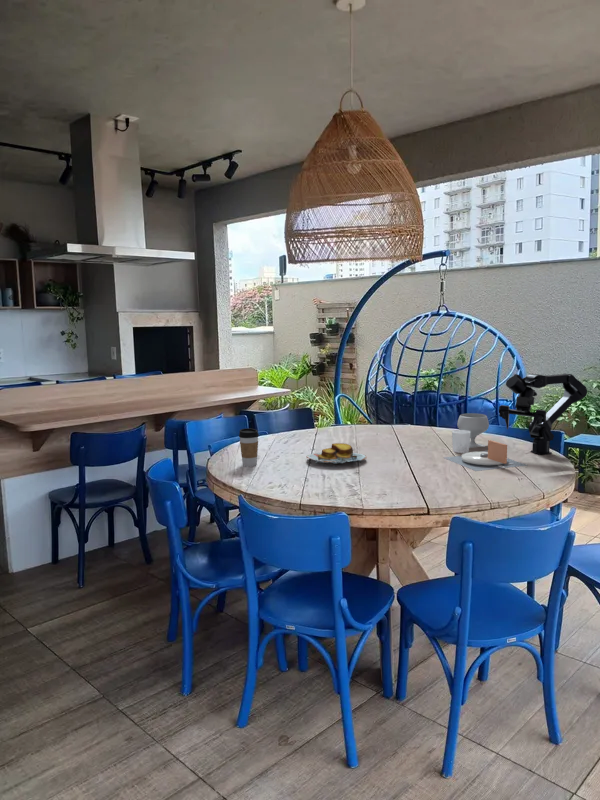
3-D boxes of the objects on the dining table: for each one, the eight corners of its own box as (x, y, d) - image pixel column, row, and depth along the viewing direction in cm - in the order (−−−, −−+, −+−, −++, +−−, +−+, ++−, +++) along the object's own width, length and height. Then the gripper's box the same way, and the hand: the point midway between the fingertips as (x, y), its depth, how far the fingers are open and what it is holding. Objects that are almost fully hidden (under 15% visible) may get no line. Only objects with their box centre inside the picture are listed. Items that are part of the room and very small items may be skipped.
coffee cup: (250, 461, 265) (249, 427, 263) (263, 464, 259) (262, 429, 257) (235, 465, 259) (234, 430, 257) (248, 468, 253) (247, 432, 251)
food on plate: (295, 463, 262) (294, 448, 261) (329, 452, 281) (329, 438, 280) (344, 471, 246) (344, 455, 245) (377, 459, 265) (377, 445, 264)
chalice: (465, 442, 294) (466, 411, 292) (493, 446, 285) (494, 414, 283) (451, 448, 284) (452, 415, 282) (480, 452, 275) (480, 419, 272)
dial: (507, 456, 258) (507, 435, 257) (507, 467, 240) (507, 445, 239) (463, 453, 264) (463, 433, 263) (459, 464, 246) (460, 443, 245)
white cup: (470, 456, 268) (471, 433, 266) (452, 455, 269) (452, 433, 268) (469, 452, 275) (469, 430, 274) (451, 451, 277) (451, 429, 275)
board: (491, 455, 268) (491, 452, 268) (527, 468, 245) (527, 464, 245) (442, 460, 261) (442, 457, 260) (475, 474, 238) (475, 470, 238)
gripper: (501, 386, 260) (494, 417, 253) (548, 391, 252) (542, 423, 245) (503, 401, 269) (496, 431, 262) (548, 406, 261) (542, 437, 253)
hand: (518, 430), depth 255 cm, fingers open, 9 cm apart
